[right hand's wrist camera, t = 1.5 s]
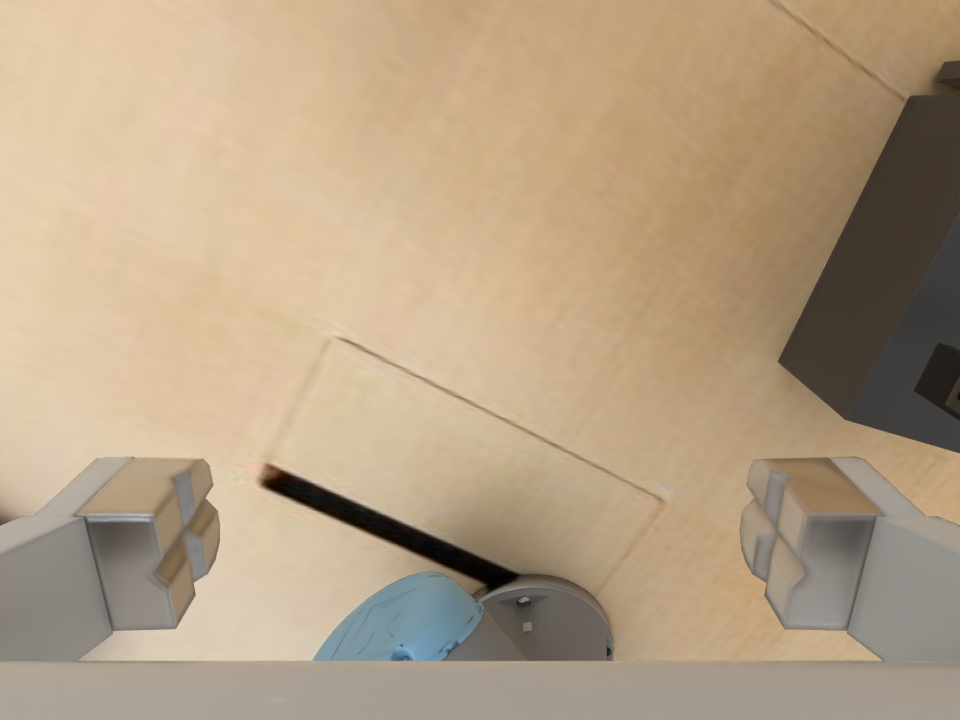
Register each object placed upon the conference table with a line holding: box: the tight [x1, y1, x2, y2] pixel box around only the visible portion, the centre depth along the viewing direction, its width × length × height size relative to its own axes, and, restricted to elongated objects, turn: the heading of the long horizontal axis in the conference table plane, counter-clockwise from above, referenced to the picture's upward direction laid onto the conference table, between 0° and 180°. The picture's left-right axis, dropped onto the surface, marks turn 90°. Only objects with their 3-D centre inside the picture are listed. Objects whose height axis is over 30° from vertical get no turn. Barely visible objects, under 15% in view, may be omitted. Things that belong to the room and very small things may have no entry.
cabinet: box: [778, 95, 960, 453], centre depth 46 cm, size 21×11×11 cm, turn 163°
